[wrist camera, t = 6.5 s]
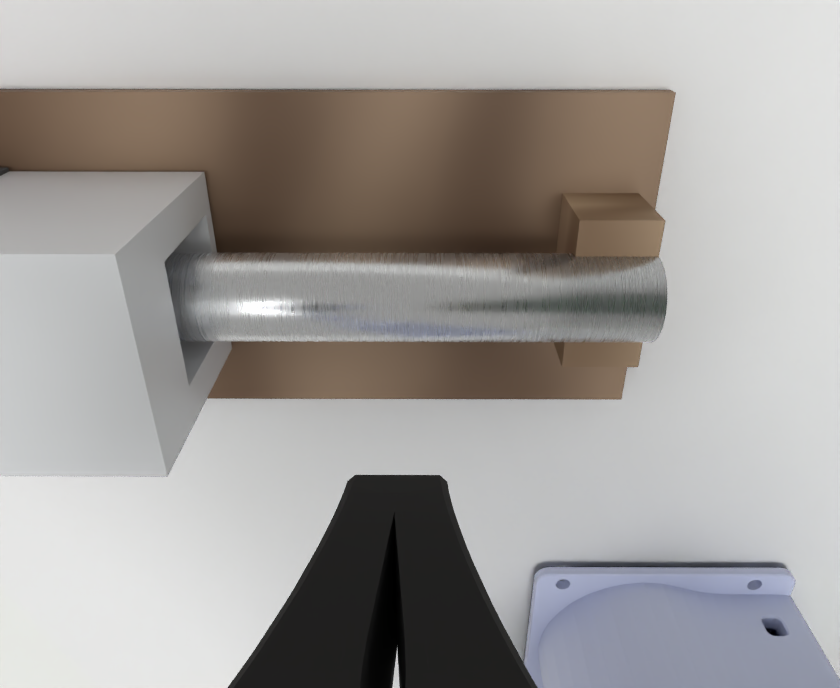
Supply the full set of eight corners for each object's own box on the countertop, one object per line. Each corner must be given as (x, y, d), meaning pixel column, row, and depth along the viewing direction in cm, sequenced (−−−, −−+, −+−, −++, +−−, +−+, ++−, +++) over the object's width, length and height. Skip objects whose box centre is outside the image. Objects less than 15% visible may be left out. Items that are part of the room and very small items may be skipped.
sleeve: (204, 171, 17) (114, 254, 12) (232, 348, 20) (167, 476, 15) (9, 171, 17) (-160, 253, 12) (62, 348, 20) (-60, 476, 15)
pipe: (644, 235, 17) (675, 272, 15) (630, 319, 18) (657, 364, 16) (-176, 234, 17) (-260, 270, 15) (-138, 317, 18) (-210, 362, 16)
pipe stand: (670, 89, 17) (742, 124, 13) (618, 392, 21) (660, 483, 17) (-210, 89, 17) (-393, 123, 13) (-79, 390, 21) (-187, 481, 17)
